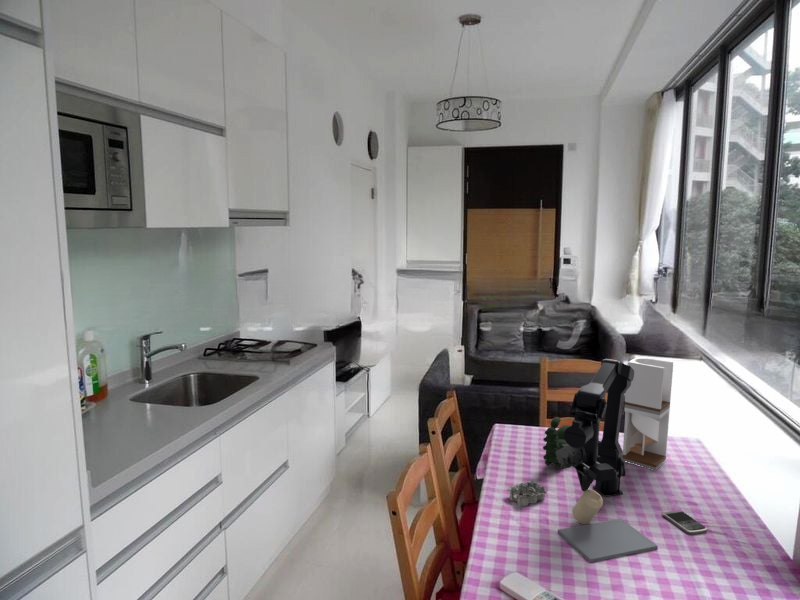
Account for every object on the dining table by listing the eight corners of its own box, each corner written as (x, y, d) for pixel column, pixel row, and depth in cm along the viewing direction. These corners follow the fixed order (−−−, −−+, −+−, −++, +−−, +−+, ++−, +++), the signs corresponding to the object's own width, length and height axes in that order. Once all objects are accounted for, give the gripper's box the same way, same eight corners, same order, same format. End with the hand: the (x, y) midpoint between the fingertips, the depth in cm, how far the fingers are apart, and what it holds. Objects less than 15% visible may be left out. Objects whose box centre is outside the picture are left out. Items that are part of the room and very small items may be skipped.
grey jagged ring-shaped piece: (521, 508, 166) (521, 495, 166) (504, 497, 173) (505, 484, 172) (549, 500, 171) (550, 487, 171) (532, 489, 178) (532, 477, 177)
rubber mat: (620, 521, 159) (620, 518, 159) (657, 548, 146) (657, 545, 146) (557, 532, 153) (557, 529, 153) (590, 562, 140) (590, 559, 140)
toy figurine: (562, 481, 187) (589, 450, 206) (563, 427, 183) (590, 400, 202) (535, 473, 192) (563, 444, 212) (535, 420, 188) (564, 395, 208)
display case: (620, 461, 199) (627, 362, 194) (632, 451, 207) (638, 356, 202) (655, 470, 191) (663, 368, 186) (665, 460, 199) (673, 362, 194)
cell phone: (689, 536, 153) (689, 532, 152) (660, 515, 163) (660, 511, 163) (708, 533, 154) (709, 529, 154) (678, 513, 165) (679, 508, 165)
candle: (569, 505, 161) (581, 486, 155) (587, 505, 162) (600, 486, 155) (575, 524, 157) (588, 505, 150) (594, 524, 158) (608, 505, 151)
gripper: (542, 427, 162) (540, 479, 164) (582, 452, 145) (578, 511, 147) (577, 423, 166) (574, 475, 168) (619, 448, 148) (615, 505, 150)
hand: (584, 490), depth 158 cm, fingers closed
